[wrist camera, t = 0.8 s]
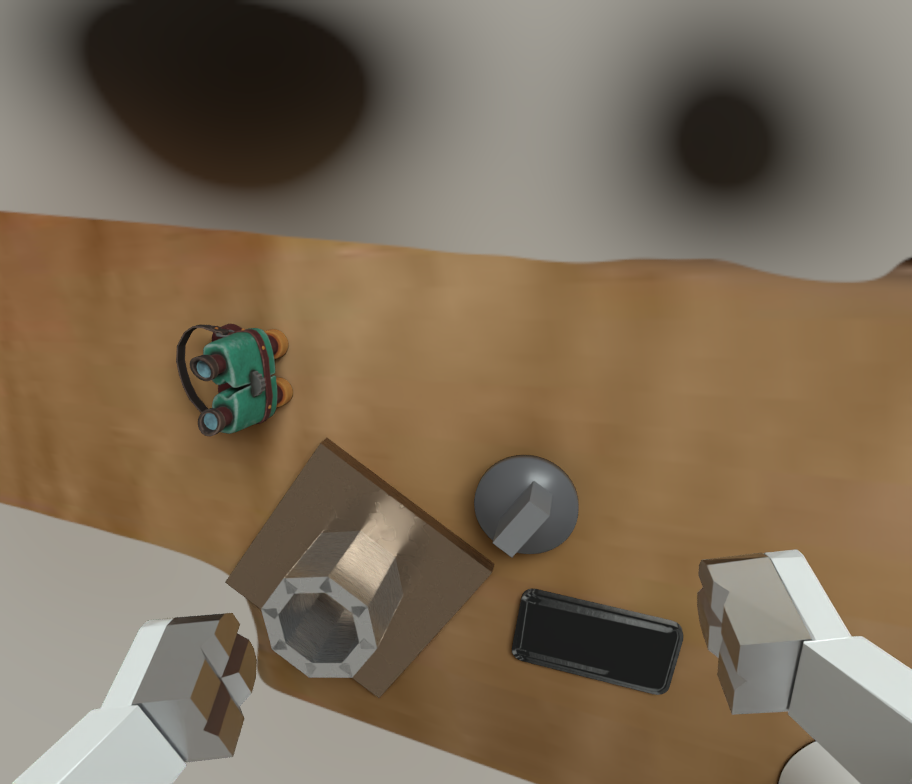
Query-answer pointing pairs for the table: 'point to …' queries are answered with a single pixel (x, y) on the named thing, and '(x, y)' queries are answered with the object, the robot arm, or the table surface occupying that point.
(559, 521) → the grey dial knob
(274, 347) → the binoculars
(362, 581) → the square base plate
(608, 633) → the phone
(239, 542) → the table surface
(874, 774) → the robot arm
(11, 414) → the table surface
